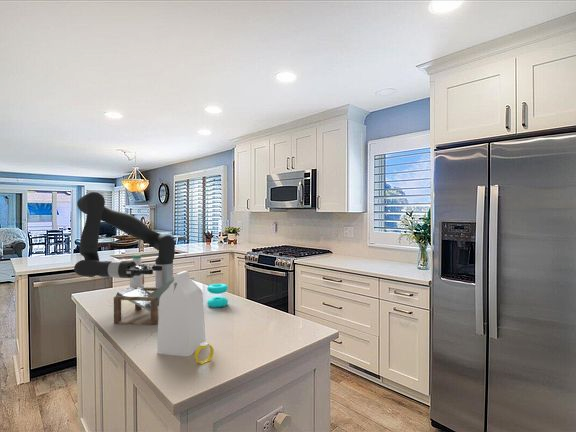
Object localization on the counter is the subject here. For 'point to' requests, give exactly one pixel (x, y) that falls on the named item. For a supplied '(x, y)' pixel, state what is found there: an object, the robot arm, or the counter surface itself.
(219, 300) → the donuts
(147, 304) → the trapdoor
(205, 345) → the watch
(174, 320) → the milk
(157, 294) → the soapstone block
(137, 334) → the counter surface
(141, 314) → the frame
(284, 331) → the counter surface
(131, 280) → the milk bottle
